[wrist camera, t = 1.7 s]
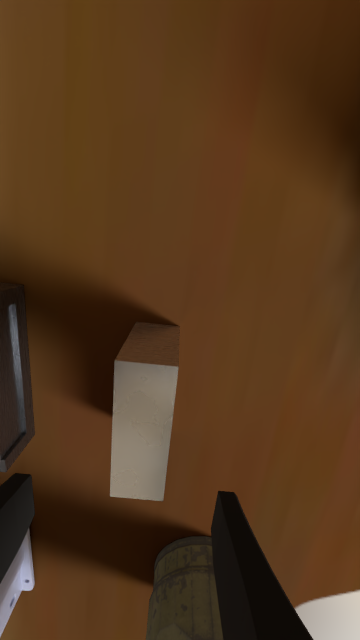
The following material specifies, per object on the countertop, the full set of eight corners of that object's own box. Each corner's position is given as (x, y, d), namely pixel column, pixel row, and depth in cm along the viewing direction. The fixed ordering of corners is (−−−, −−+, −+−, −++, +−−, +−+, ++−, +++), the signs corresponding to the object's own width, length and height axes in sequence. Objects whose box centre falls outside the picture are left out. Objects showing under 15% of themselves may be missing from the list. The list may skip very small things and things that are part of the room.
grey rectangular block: (168, 427, 20) (163, 501, 15) (130, 423, 20) (109, 496, 15) (179, 325, 18) (178, 366, 12) (136, 321, 18) (114, 360, 12)
